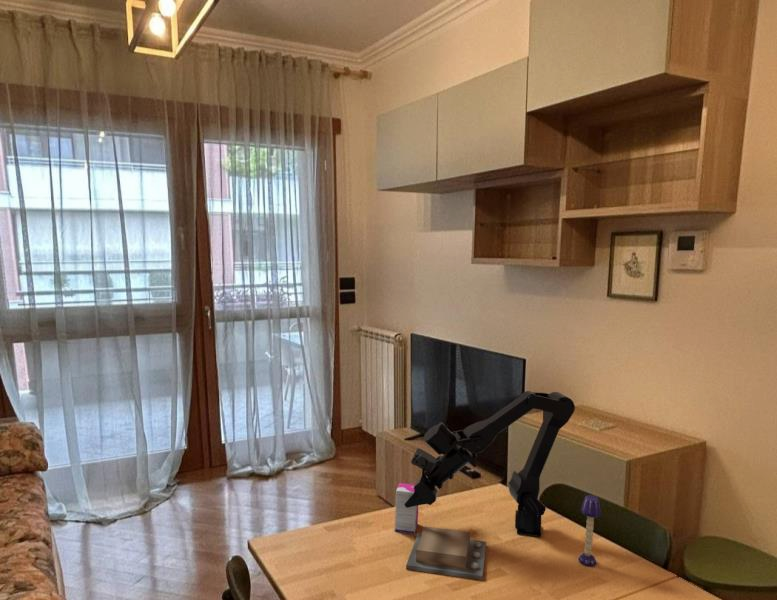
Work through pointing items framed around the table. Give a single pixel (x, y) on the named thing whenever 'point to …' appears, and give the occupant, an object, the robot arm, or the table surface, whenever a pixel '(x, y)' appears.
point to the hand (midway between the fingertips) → (408, 498)
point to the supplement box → (405, 510)
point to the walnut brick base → (450, 569)
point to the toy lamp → (589, 528)
